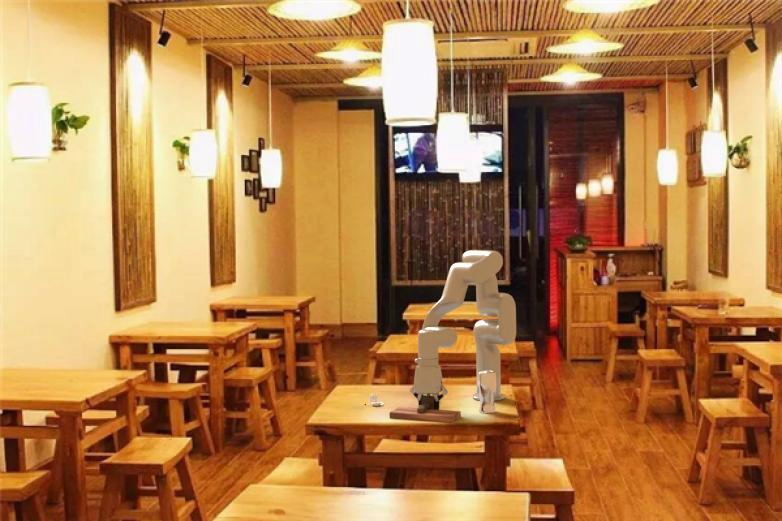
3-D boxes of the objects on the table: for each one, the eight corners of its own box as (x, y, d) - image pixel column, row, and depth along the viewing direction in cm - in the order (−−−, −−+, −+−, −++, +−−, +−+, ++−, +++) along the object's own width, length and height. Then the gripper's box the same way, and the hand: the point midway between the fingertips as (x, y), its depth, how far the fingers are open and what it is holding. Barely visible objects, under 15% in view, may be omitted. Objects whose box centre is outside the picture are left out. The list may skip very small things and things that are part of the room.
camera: (424, 410, 364) (423, 392, 364) (436, 411, 363) (436, 393, 362) (413, 418, 353) (412, 400, 353) (426, 419, 352) (426, 400, 351)
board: (399, 412, 364) (399, 407, 364) (460, 416, 355) (460, 411, 355) (389, 417, 355) (389, 412, 355) (452, 422, 346) (452, 416, 346)
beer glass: (478, 413, 360) (477, 373, 359) (477, 409, 367) (477, 370, 366) (497, 413, 360) (496, 373, 359) (496, 409, 366) (495, 370, 366)
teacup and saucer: (381, 407, 375) (381, 397, 374) (361, 407, 376) (360, 396, 376) (385, 403, 383) (385, 393, 383) (366, 402, 385) (366, 392, 385)
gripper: (403, 363, 361) (404, 411, 362) (447, 365, 355) (447, 414, 356) (410, 360, 368) (410, 407, 369) (453, 362, 362) (453, 410, 363)
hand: (429, 410), depth 362 cm, fingers closed on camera, 5 cm apart
